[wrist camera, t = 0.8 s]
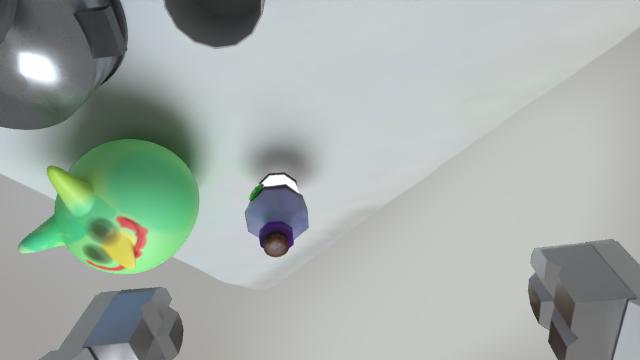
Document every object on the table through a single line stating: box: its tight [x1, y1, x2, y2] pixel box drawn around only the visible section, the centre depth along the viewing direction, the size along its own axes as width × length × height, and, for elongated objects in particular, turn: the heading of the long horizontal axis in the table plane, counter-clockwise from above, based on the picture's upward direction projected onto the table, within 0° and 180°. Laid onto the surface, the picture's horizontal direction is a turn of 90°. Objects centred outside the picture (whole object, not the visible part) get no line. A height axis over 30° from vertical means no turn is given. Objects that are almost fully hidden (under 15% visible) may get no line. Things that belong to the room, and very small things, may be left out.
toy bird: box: [18, 139, 199, 274], centre depth 51 cm, size 18×17×15 cm
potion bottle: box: [245, 173, 309, 257], centre depth 55 cm, size 9×9×12 cm
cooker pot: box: [0, 0, 128, 130], centre depth 41 cm, size 17×21×10 cm
